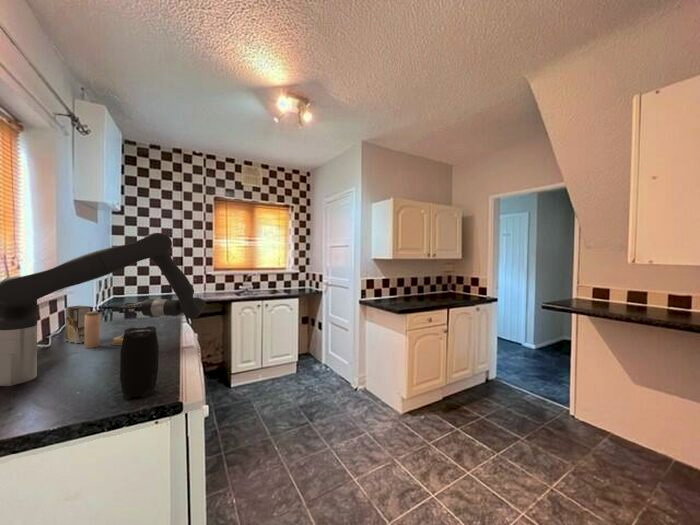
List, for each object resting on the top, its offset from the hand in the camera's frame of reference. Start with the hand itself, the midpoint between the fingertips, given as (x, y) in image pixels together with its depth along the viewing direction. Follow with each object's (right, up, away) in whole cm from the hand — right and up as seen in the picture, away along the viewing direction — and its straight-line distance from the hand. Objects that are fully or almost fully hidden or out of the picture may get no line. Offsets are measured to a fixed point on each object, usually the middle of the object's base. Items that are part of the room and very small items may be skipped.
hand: (119, 307), depth 135 cm
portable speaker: (+39, -20, -44) cm, 62 cm away
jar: (-12, -17, 0) cm, 21 cm away
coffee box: (-24, -17, +7) cm, 30 cm away
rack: (-1, -17, +9) cm, 20 cm away
